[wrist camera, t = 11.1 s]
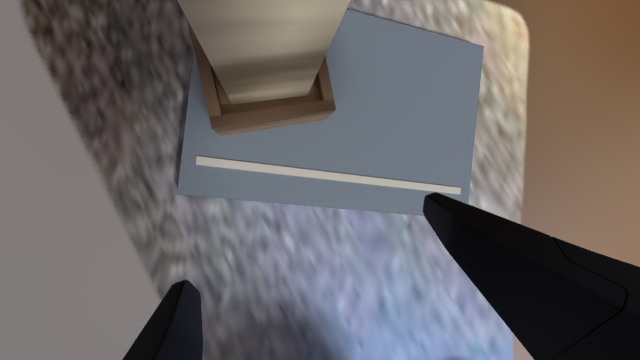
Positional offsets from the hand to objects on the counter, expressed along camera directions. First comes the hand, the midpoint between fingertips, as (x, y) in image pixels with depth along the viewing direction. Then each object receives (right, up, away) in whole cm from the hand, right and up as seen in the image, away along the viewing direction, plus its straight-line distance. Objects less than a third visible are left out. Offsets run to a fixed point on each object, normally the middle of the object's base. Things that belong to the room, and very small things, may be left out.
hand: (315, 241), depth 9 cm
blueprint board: (+2, +8, +11) cm, 14 cm away
